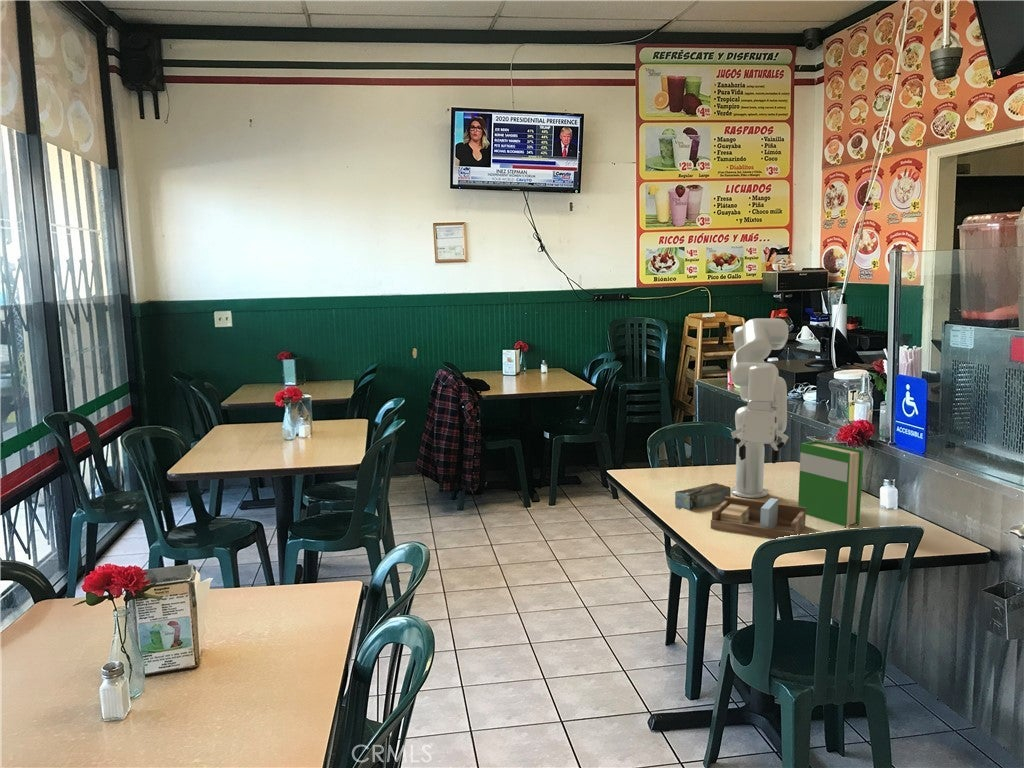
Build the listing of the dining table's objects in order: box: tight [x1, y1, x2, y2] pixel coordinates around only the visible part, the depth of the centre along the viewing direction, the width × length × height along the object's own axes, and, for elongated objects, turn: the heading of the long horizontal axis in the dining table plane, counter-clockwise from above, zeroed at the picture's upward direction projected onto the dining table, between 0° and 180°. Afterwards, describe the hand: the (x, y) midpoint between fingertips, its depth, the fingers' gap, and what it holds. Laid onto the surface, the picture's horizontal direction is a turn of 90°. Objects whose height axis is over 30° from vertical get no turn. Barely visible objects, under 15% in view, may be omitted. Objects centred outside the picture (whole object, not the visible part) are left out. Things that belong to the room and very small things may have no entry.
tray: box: [710, 496, 807, 539], centre depth 260 cm, size 16×25×7 cm, turn 60°
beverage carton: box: [674, 482, 732, 511], centre depth 286 cm, size 8×19×7 cm, turn 120°
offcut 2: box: [720, 512, 749, 524], centre depth 264 cm, size 11×6×2 cm, turn 150°
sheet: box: [760, 497, 779, 528], centre depth 258 cm, size 12×2×8 cm, turn 150°
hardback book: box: [797, 440, 864, 529], centre depth 268 cm, size 18×7×24 cm, turn 32°
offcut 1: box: [721, 504, 750, 520], centre depth 263 cm, size 11×6×2 cm, turn 150°
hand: (758, 460), depth 258 cm, fingers open, 9 cm apart
